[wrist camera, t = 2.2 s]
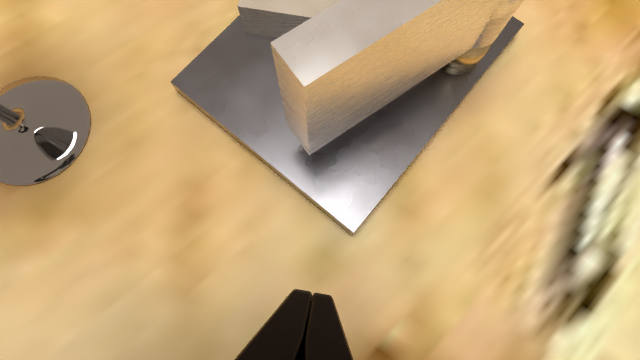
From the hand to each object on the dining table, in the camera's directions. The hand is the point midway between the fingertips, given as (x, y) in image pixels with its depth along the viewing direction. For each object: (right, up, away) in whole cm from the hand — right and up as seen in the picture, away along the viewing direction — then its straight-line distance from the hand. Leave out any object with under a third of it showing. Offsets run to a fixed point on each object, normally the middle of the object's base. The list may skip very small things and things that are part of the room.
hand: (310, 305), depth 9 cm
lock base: (+2, +10, +17) cm, 20 cm away
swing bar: (+4, +8, +12) cm, 15 cm away
